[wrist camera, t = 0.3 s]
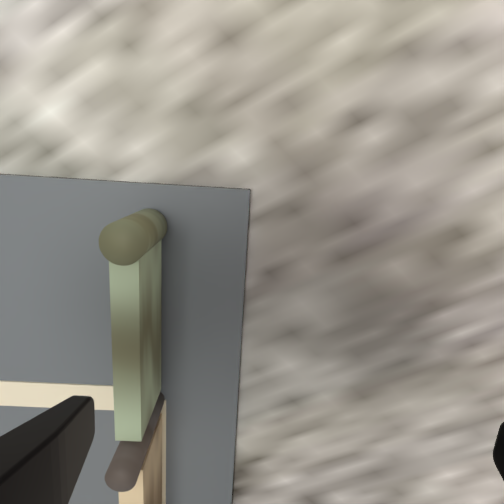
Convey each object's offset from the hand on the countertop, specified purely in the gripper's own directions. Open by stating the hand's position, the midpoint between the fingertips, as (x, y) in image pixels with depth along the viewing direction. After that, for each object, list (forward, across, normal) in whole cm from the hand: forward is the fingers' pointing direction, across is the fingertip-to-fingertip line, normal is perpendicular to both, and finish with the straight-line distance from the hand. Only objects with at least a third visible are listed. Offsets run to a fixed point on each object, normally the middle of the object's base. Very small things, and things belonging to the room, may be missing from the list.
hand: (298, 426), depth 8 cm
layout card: (+12, +11, +8) cm, 18 cm away
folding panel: (+11, +6, +2) cm, 13 cm away
